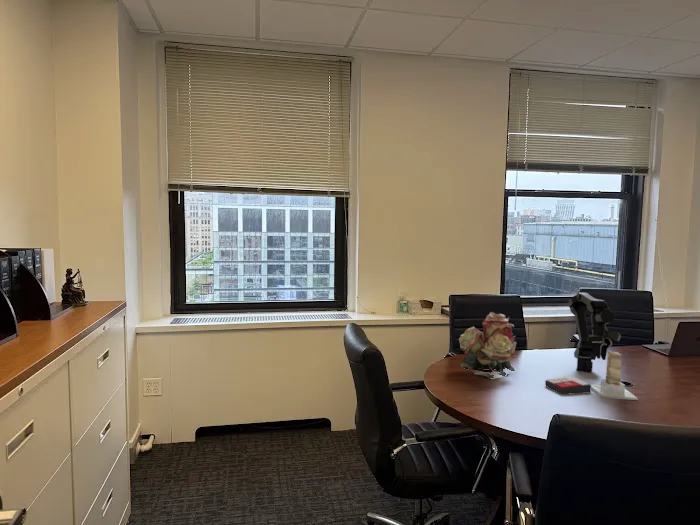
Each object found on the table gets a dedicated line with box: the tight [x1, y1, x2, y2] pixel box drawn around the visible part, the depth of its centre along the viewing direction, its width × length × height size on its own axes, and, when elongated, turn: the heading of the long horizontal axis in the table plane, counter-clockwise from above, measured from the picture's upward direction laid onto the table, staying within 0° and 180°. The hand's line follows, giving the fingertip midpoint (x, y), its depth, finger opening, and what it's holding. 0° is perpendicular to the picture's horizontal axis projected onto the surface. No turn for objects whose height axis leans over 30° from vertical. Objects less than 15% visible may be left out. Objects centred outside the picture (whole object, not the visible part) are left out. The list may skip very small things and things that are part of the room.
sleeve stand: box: [589, 378, 639, 401], centre depth 190 cm, size 14×14×6 cm
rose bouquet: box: [458, 311, 517, 379], centre depth 217 cm, size 26×29×30 cm
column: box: [605, 351, 623, 384], centre depth 190 cm, size 4×4×13 cm
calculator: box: [544, 376, 592, 395], centre depth 195 cm, size 11×4×15 cm
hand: (601, 359), depth 202 cm, fingers open, 9 cm apart
